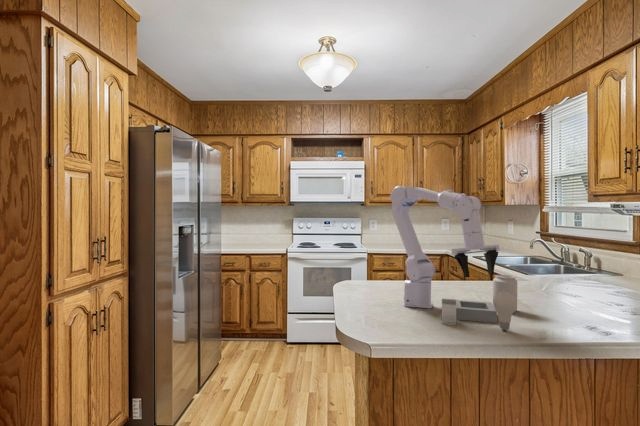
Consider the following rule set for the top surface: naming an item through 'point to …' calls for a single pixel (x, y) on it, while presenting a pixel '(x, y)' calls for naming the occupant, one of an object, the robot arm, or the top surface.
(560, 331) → the top surface
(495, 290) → the can
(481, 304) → the well block
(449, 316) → the bracket
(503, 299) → the lightbulb
